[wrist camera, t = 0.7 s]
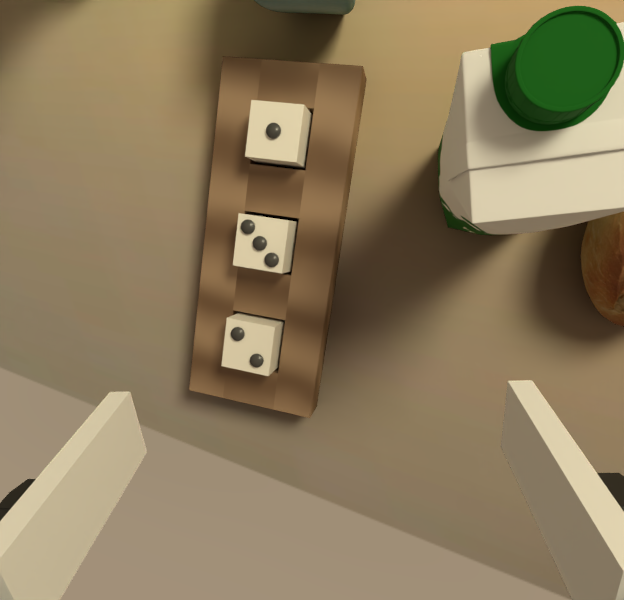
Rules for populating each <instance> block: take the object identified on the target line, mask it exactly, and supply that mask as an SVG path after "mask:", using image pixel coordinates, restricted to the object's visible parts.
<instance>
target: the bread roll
mask: <svg viewBox="0 0 624 600" xmlns="http://www.w3.org/2000/svg"><path fill="white" fill-rule="evenodd" d="M581 266H582V274H583V278H584V284H585V287H586V290H587V292H588V294H589V296H590V298H591V301H592V303H593V304H594V306H595V307H596V309H597V310H598V311H599V312H600V313H601V314H602V316H604V317H605V318H607V319H608V320H609V321H611V322H613V323H614V324H617V325H620V326H623V327H624V212H620V213H616V214H612V215H609V216H605V217H601V218H597V219H594V220H590V221H588V224H587V227H586V230H585V234H584V238H583V242H582V246H581Z"/></svg>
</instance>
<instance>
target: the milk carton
mask: <svg viewBox="0 0 624 600" xmlns="http://www.w3.org/2000/svg"><path fill="white" fill-rule="evenodd" d="M438 184H439V195H440V201H441V204H442V207H443V211H444V214H445V218H446V221H447V225H448V227H450V228H454V229H459V230H463V231H467V232H471V233H476V234H480V235H506V234H521V233H532V232H539V231H544V230H550V229H556V228H562V227H567V226H571V225H575V224H579V223H583V222H586V221H590V220H594V219H597V218H601V217H605V216H609V215H612V214H616V213H620V212H624V22H622V23H618V24H616V22H615V21H614V20H613V19H611V18H610V17H609V16H608V15H607V14H605V13H604V12H602V11H600V10H597V9H595V8H591V7H586V6H570V7H565V8H561V9H558V10H556V11H553V12H551V13H549V14H547V15H546V16H544V17H543V18H541V19H540V20H539V21H537V22H536V23H535V24H534V25H533V26H532V27H531V28H530V29H529V31H528V32H527V33H526V34H525V35H523V36H521V37H520V38H518V39H516V40H513V41H507V42H501V43H496V44H491V48H485V49H479V50H473V51H468V52H464V53H462V56H461V61H460V67H459V71H458V76H457V80H456V85H455V89H454V94H453V98H452V103H451V107H450V112H449V116H448V119H447V122H446V126H445V129H444V132H443V136H442V139H441V142H440V146H439V150H438Z"/></svg>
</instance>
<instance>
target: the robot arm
mask: <svg viewBox="0 0 624 600" xmlns="http://www.w3.org/2000/svg"><path fill="white" fill-rule="evenodd" d="M501 448H502V450H503V453H504V455H505V457H506V459H507V461H508V463H509V465H510V468H511V470H512V472H513V474H514V476H515V478H516V480H517V483H518V485H519V487H520V489H521V491H522V493H523V495H524V498H525V500H526V502H527V504H528V506H529V508H530V510H531V513H532V515H533V517H534V519H535V521H536V523H537V525H538V528H539V530H540V532H541V534H542V536H543V538H544V540H545V543H546V545H547V547H548V549H549V551H550V553H551V555H552V558H553V560H554V562H555V564H556V566H557V568H558V570H559V573H560V575H561V577H562V579H563V581H564V583H565V586H566V588H567V590H568V592H569V594H570V596H571V598H572V600H624V476H622V475H621V474H620V473H596V471H595V470H594V468H593V467H592V466H591V464H590V463H589V461H588V460H587V458H586V457H585V456H584V454H583V453H582V451H581V450H580V448H579V447H578V446H577V444H576V443H575V441H574V440H573V438H572V437H571V436H570V434H569V433H568V431H567V430H566V428H565V427H564V426H563V424H562V423H561V421H560V420H559V418H558V417H557V416H556V414H555V413H554V411H553V410H552V408H551V407H550V405H549V404H548V403H547V401H546V400H545V398H544V397H543V395H542V394H541V393H540V391H539V390H538V388H537V387H536V385H535V384H534V383H533V381H532V380H522V381H508V383H507V393H506V403H505V412H504V422H503V431H502V441H501ZM146 453H147V450H146V447H145V443H144V440H143V436H142V432H141V429H140V425H139V422H138V418H137V415H136V411H135V407H134V404H133V400H132V397H131V393H130V392H110V393H109V394H108V395H107V396H106V397H105V398H104V400H103V401H102V402H101V403H100V404H99V405H98V407H97V408H96V409H95V410H94V411H93V413H92V414H91V415H90V416H89V418H87V420H86V421H85V422H84V423H83V424H82V426H81V427H80V428H79V429H78V430H77V431H76V433H75V434H74V435H73V436H72V437H71V438H70V440H69V441H68V442H67V443H66V444H65V446H64V447H63V448H62V449H61V450H60V451H59V453H58V454H57V455H56V456H55V457H54V458H53V460H52V461H51V462H50V463H49V464H48V466H47V467H46V468H45V469H44V470H43V472H42V473H41V474H40V475H39V476H38V477H37V478H36V479H27V480H26V481H25V482H24V483H22V484H21V485H19V486H18V487H17V488H15V489H14V490H12V491H11V492H10V493H9V494H8V495H7V496H6V497H5V498H4V499H3V500H2V502H1V503H0V600H60V599H61V597H62V596H63V594H64V592H65V591H66V589H67V587H68V585H69V584H70V582H71V580H72V579H73V577H74V575H75V574H76V572H77V570H78V568H79V567H80V565H81V563H82V561H83V560H84V558H85V557H86V555H87V553H88V552H89V550H90V548H91V546H92V545H93V543H94V541H95V540H96V538H97V536H98V535H99V533H100V531H101V529H102V528H103V526H104V524H105V523H106V521H107V519H108V518H109V516H110V514H111V512H112V511H113V509H114V507H115V505H116V504H117V502H118V501H119V499H120V497H121V495H122V494H123V492H124V490H125V489H126V487H127V485H128V483H129V482H130V480H131V478H132V477H133V475H134V473H135V471H136V470H137V468H138V467H139V465H140V463H141V461H142V460H143V458H144V456H145V455H146Z"/></svg>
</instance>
